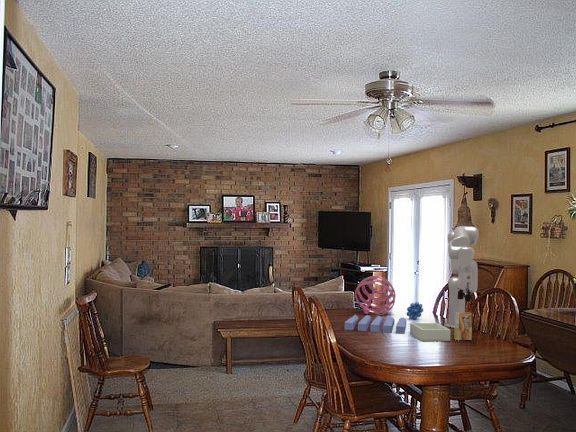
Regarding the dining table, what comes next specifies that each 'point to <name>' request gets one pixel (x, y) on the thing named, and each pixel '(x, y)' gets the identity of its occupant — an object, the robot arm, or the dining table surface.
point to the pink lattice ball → (371, 297)
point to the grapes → (414, 310)
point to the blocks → (376, 324)
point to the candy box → (463, 326)
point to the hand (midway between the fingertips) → (464, 300)
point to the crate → (429, 332)
